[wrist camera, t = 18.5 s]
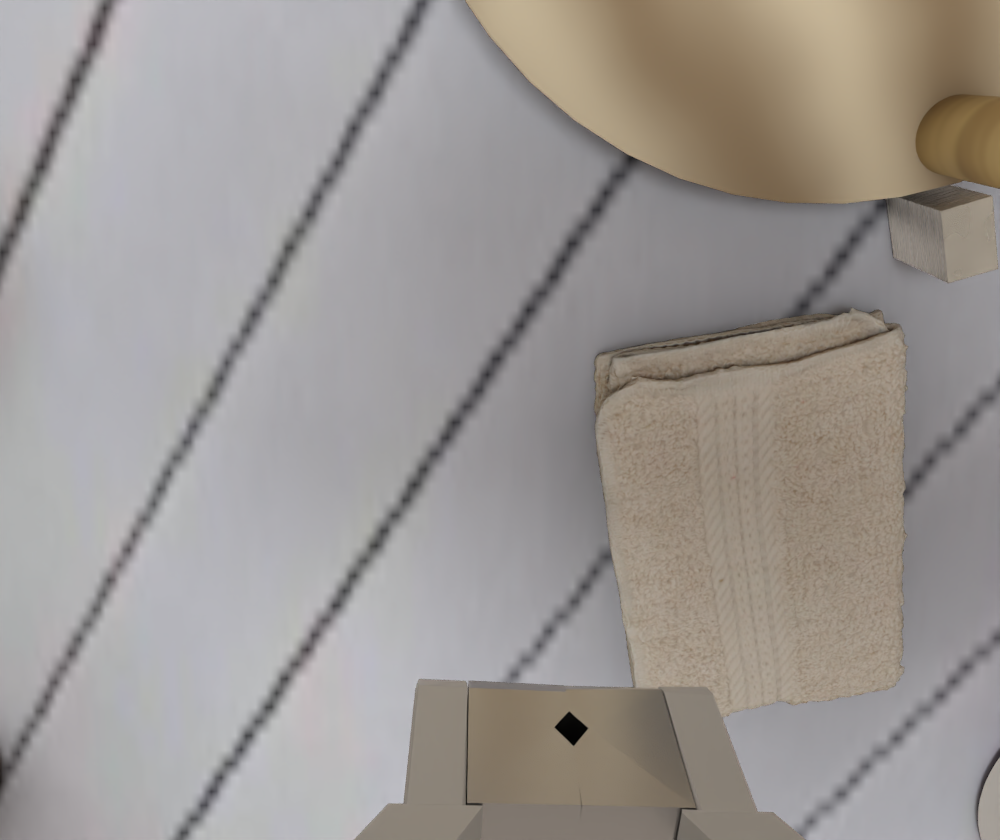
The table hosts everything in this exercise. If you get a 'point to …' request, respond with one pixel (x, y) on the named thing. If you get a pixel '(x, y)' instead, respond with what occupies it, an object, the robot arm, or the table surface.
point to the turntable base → (944, 232)
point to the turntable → (774, 88)
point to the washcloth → (759, 507)
